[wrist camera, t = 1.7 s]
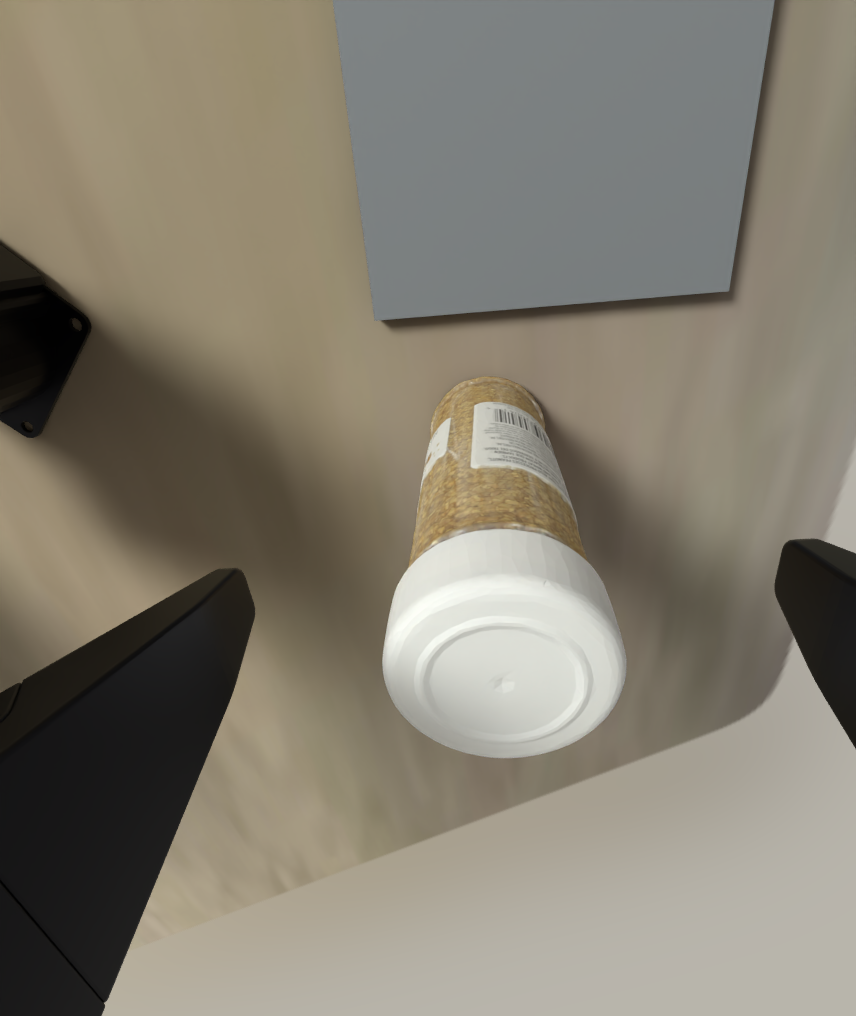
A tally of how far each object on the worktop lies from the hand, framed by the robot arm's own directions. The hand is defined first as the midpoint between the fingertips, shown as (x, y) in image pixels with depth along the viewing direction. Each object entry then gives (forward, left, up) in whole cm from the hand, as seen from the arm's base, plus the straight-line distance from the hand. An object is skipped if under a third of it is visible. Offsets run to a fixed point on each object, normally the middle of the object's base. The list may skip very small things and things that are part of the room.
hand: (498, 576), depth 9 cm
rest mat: (+7, +5, -13) cm, 16 cm away
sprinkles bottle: (-2, -1, -13) cm, 13 cm away
